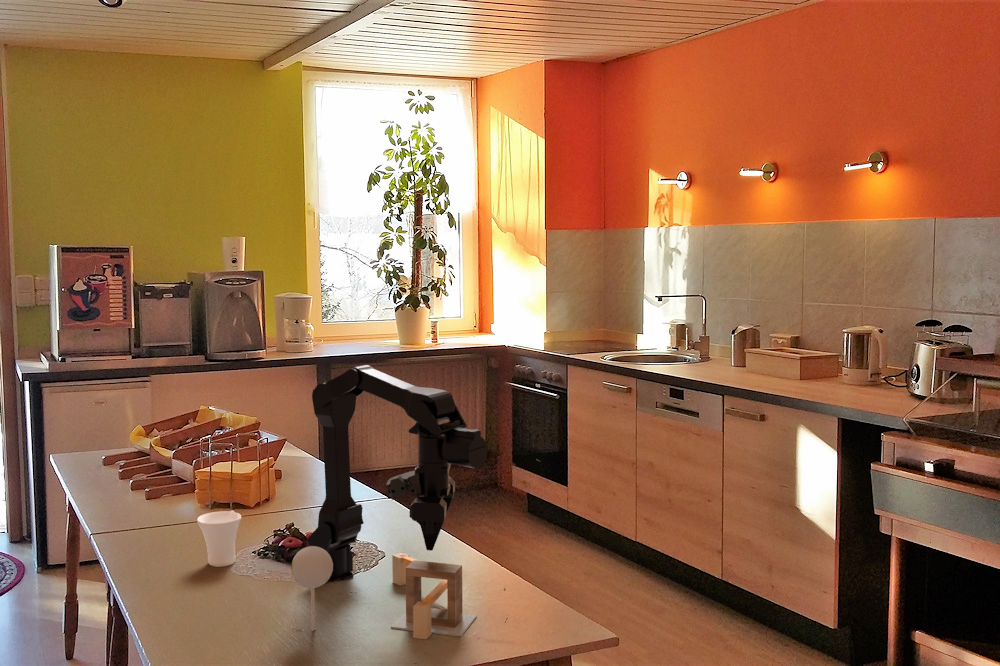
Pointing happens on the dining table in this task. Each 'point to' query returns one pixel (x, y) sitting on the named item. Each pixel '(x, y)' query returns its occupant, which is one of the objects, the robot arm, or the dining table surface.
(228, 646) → the dining table surface
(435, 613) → the brown rectangular frame
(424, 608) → the rail
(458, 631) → the mat
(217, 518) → the cup
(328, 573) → the lollipop
